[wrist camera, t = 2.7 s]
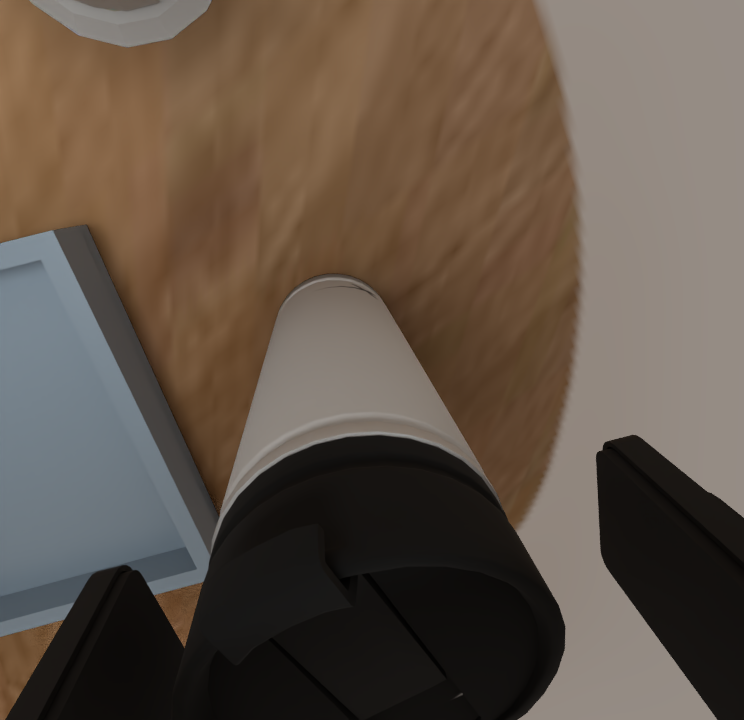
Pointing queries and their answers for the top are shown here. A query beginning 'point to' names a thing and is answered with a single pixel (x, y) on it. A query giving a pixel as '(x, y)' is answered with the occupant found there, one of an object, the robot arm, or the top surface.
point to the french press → (125, 18)
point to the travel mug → (361, 544)
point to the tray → (84, 440)
